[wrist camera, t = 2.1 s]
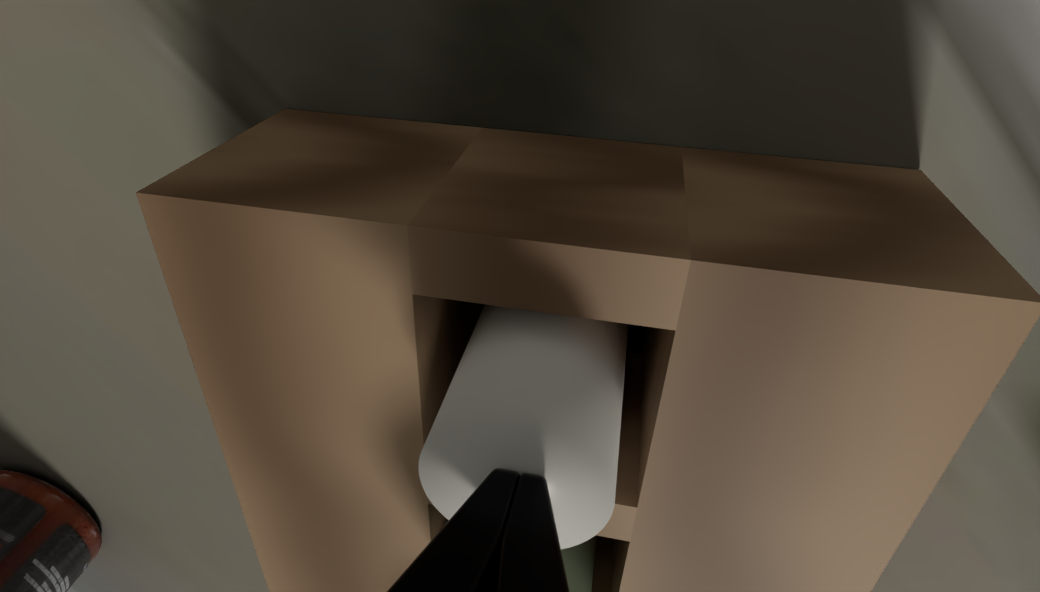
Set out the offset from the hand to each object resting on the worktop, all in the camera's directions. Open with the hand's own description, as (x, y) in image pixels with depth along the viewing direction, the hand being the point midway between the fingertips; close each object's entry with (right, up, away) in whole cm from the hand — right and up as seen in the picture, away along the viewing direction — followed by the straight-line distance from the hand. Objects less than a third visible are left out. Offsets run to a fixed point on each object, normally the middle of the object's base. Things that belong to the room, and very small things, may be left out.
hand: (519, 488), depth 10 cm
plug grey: (+1, +3, +5) cm, 6 cm away
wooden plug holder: (+1, -1, +9) cm, 9 cm away
